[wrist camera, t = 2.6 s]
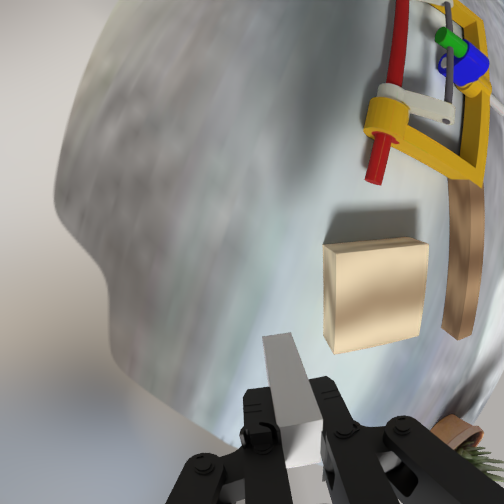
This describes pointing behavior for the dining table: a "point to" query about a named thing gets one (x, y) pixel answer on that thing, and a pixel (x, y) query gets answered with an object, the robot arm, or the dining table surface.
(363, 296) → the block
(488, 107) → the mechanical clamp
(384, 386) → the dining table surface
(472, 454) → the potted plant
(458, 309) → the board
